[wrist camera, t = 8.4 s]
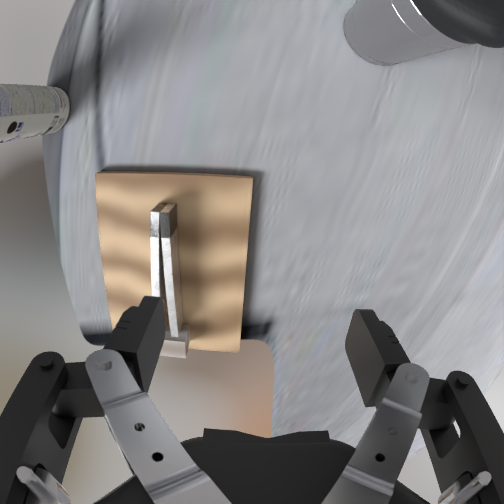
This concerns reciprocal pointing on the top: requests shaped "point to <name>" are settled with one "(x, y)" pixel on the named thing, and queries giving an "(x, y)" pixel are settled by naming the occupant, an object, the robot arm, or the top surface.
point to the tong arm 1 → (157, 256)
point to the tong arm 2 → (171, 266)
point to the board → (179, 250)
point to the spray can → (31, 111)
